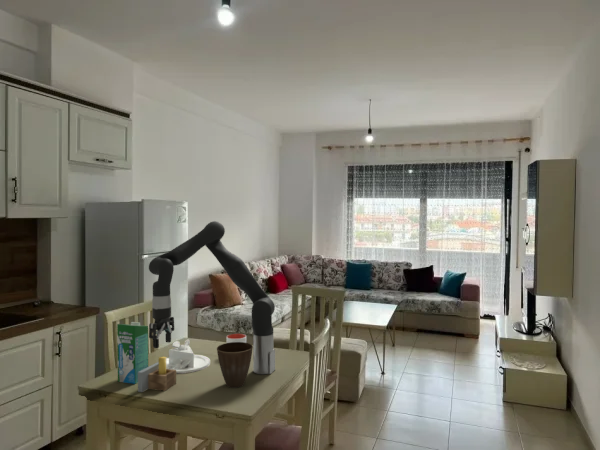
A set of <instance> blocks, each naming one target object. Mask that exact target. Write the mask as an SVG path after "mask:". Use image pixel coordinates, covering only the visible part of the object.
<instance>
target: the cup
mask: <svg viewBox="0 0 600 450" xmlns="http://www.w3.org/2000/svg"><path fill="white" fill-rule="evenodd" d="M231 342H244V343H247V335H246V334H243V333H231V334H228V335H226V343H231Z"/></svg>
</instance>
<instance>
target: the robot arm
mask: <svg viewBox="0 0 600 450" xmlns="http://www.w3.org/2000/svg"><path fill="white" fill-rule="evenodd" d="M225 229H226V228H225V227H224V224H222V223H221V222H219V221H215V220H214V221H210V222H209V223H206V225H205V226H204V227H203V229H202V230H201V231H199V232H198V233H196V234H195V235H193V236H192V237H191V238H189V239H188V240H186V241H184V242H183V243H181V244H179V245H178V246H176V247H175V248H173V249H171V250H170V251H168V252H165V253H162V254H160V255H157V256H156V257H154V258H153V259H152V260H151V261H150V262H149V263H148V270H149V272H150V273H151V274H152V275H156V276H157V277H158V278H157V280H156V281H154V282H153V284H152V300H151V308H152V309H151V310H152V311H151V312H152V313H151V314H152V315H151V316H152V319H153V320H154V323H153V322H152V323H149V325H148V339H152V347H153V348H154V349H158V348H159V347H160V341H159V340H160V338H159V337H160V335H161V334H162V333H163V332H165V342H166V343H168V344H169V343H171V342H172V333H173V331H175V318H174V316H172V300H171V299H172V298H171V283H172V279H173V275H174V270H175V268H174V266H179V265H181V264H183V263H184V262H185V261H187V260H188V259H190V258H191V257H193V256H194V255H195V254H196V253H197V252H198V251H199V250H201V249H202V248H204V247H206V248H207V249H208V250H209V251H210V253H211V254H212V255H213V256H214V257H215V259H216V260H217V262H218V263H219V264H220V265H221V267H222V269H224V271H225V272H226V273H225V274H226V275H227V276H228V277H229V279H230V280H231V281H232V282H233V284H234V285H235V286H236V287H238V289H240V290H241V291H242V292H244V294H246V295H247V296H248V298H249V299H250V301H251V302H252V307H251V328H252V331H253V332H252V334H253V338H252V339H253V340H252V341H253V342H252V346H253V348H252V355H253V356H252V357H253V364H252V365H253V367H252V368H253V373H255V374H257V375H271V374H272V373H273V372H274V371H276V349H274V327H273V323H272V320H273V319H272V318H273V317H272V315H273V314H274V313H275V308H276V307H275V303H274V301H273V300H272V299H271V297H270V296H269V295H268V294H267V293H266V291H265V290H264V289H263V288H262V287H261V285H260V284H259V283H258V281H257V280H256V278H255V276H254V275H253V273H252V272H251V271H250V269H249V268H248V266H247V265H246V263H245V261H243V259H241V258H240V257H239V256H238V255H236V254H234V253H232V252H230V251H229V250H228V249H227V248H226V247H225V245H224V244H223V243H222V241H221V240H222V239H223V237H224V235H225V232H226V230H225Z"/></svg>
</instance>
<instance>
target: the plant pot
mask: <svg viewBox="0 0 600 450" xmlns="http://www.w3.org/2000/svg"><path fill="white" fill-rule="evenodd" d="M216 351H217V358H218V364H219V367H220V370H221V374H222V377H223V379H224V382H225V385H226V386H227V387H228V388H233V389H236V388H241V387H243V386H244V385H245V383H246V381H247V376H248V374H249V371H250V367H251V361H252V357H253V356H252V355H253V344H251V343H249V342H246V343H244V342H231V343H227V342H225V343H221V344H219V345H217V347H216Z"/></svg>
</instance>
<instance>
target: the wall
mask: <svg viewBox="0 0 600 450" xmlns="http://www.w3.org/2000/svg"><path fill="white" fill-rule="evenodd" d="M157 369H159V361H157V362H155V363H153V364H151V365H148V367H147V368H145V369H143V370H141V371H139V372H138V383H137V392H139V393H144V392H145V391H146V390H149V389H148V374H150V373H152V372H153V371H155V370H157Z"/></svg>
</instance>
